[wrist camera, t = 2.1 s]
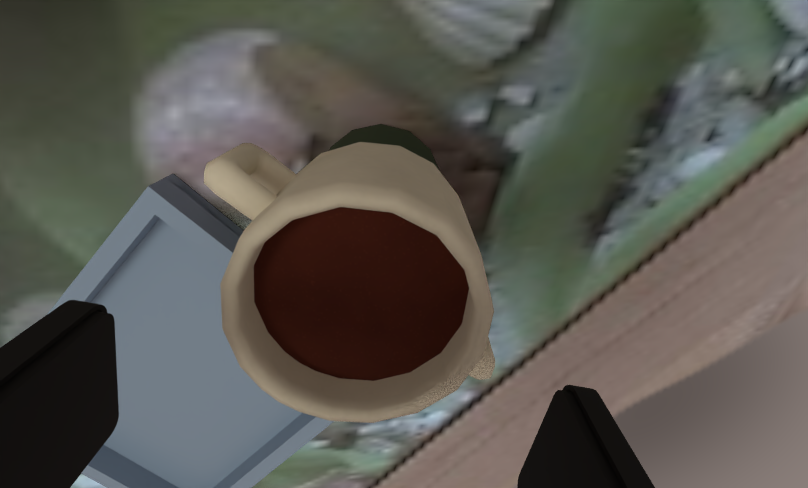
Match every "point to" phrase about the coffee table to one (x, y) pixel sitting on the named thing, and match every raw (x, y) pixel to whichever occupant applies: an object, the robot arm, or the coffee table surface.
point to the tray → (180, 354)
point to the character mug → (353, 278)
